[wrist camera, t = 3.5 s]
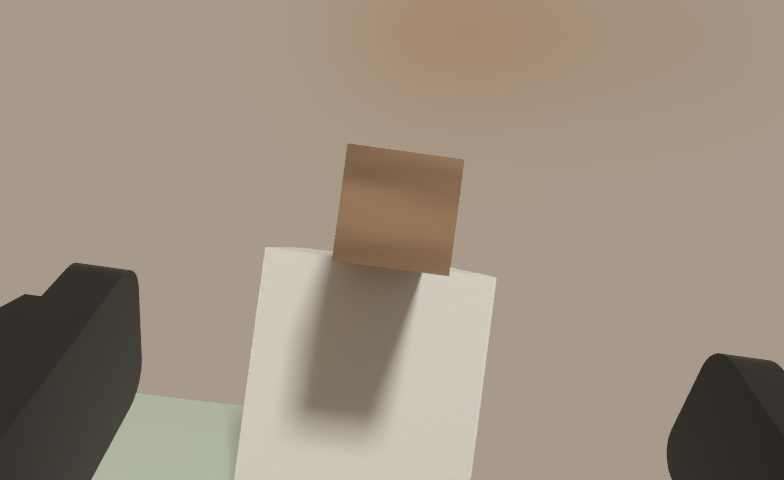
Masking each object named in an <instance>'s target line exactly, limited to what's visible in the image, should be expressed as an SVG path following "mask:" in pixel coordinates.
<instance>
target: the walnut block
mask: <svg viewBox="0 0 784 480" xmlns="http://www.w3.org/2000/svg"><path fill="white" fill-rule="evenodd" d="M463 165H464V160H462V159H455V158H447V157H441V156H433V155H426V154H419V153H412V152H405V151H397V150H391V149H383V148H376V147H369V146H362V145H355V144H348V145H347V153H346V160H345V167H344V175H343V182H342V190H341V197H340V205H339V213H338V220H337V227H336V235H335V243H334V250H333V257H332V261H337V262H344V263H352V264H359V265H367V266H375V267H382V268H390V269H398V270H405V271H413V272H421V273H428V274H436V275H444V276H449V273H450V265H451V258H452V249H453V242H454V235H455V227H456V219H457V211H458V204H459V196H460V188H461V181H462V172H463Z"/></svg>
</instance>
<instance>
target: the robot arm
mask: <svg viewBox="0 0 784 480" xmlns="http://www.w3.org/2000/svg"><path fill="white" fill-rule="evenodd" d="M141 365H142V355H141V331H140V308H139V287H138V279H137V276H136V274H135V273H134V272H133V271H131V270H123V269H117V268H110V267H103V266H95V265H88V264H81V263H73V264H72V265H70V266H69V267H68V268H67V269H66V270H65V271H64V272H63V273H62V274H61V275H60V276H59V278H58V279H57V280H56V281H55V282H54V283H53V284H52V285H51V286H50V287H49V288H48V290H47V291H46V292H45V293H44V294H43V295H42V296H35V295H27V294H24V295H23V296H21V297H19V298H17V299H15V300H13V301H11V302H9V303H7V304H6V305H4V306H2V307H0V480H91V479H92V478H93V476H94V474H95V472H96V470H97V468H98V466H99V465H100V463H101V461H102V459H103V457H104V455H105V454H106V452H107V450H108V448H109V446H110V444H111V442H112V441H113V439H114V437H115V435H116V433H117V431H118V429H119V428H120V426H121V424H122V422H123V420H124V418H125V416H126V415H127V413H128V411H129V409H130V407H131V405H132V403H133V400H134V398H135V395H136V392H137V388H138V384H139V379H140V374H141ZM667 463H668V469H669V473H670V476H671V478H672V480H784V370H783V369H782V368H781V367H780V366H779V365H778V364H776V363H775V362H773V361H770V360H763V359H755V358H748V357H741V356H733V355H726V354H719V353H718V354H714V355H712V356H710V357H709V358H708V359H707V360H706V361H705V363H704V364H703V366H702V368H701V370H700V372H699V374H698V376H697V379H696V380H695V382H694V384H693V387H692V389H691V391H690V393H689V395H688V397H687V399H686V401H685V403H684V405H683V407H682V409H681V411H680V413H679V415H678V417H677V419H676V421H675V424H674V426H673V428H672V430H671V432H670V435H669V439H668V444H667Z"/></svg>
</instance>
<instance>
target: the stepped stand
mask: <svg viewBox="0 0 784 480" xmlns="http://www.w3.org/2000/svg"><path fill="white" fill-rule="evenodd" d="M332 257H333V252H331V251H323V250H316V249H308V248H300V247H296V248H295V247H266V248H265V254H264V262H263V270H262V276H261V284H260V291H259V299H258V306H257V313H256V321H255V329H254V335H253V343H252V350H251V357H250V366H249V373H248V380H247V388H246V394H245V402H244V406H239V405H231V404H222V403H213V402H206V401H197V400H189V399H180V398H172V397H164V396H155V395H147V394H139V393H136V395H135V398H134V400H133V403H132V405H131V407H130V409H129V411H128V413H127V415H126V416H125V418H124V420H123V422H122V424H121V426H120V428H119V429H118V431H117V433H116V435H115V437H114V439H113V441H112V442H111V444H110V446H109V448H108V450H107V452H106V454H105V455H104V457H103V459H102V461H101V463H100V465H99V466H98V468H97V470H96V472H95V474H94V476H93V478H92V479H91V480H471V473H472V464H473V457H474V449H475V442H476V433H477V426H478V418H479V410H480V403H481V395H482V387H483V380H484V371H485V364H486V356H487V348H488V340H489V332H490V325H491V317H492V310H493V309H492V308H493V301H494V294H495V285H496V277H492V276H487V275H482V274H478V273H473V272H469V271H464V270H459V269H455V268H451V267H450V273H449V276H444V275H436V274H428V273H421V272H413V271H405V270H398V269H390V268H382V267H375V266H367V265H359V264H352V263H344V262H337V261H332Z"/></svg>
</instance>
